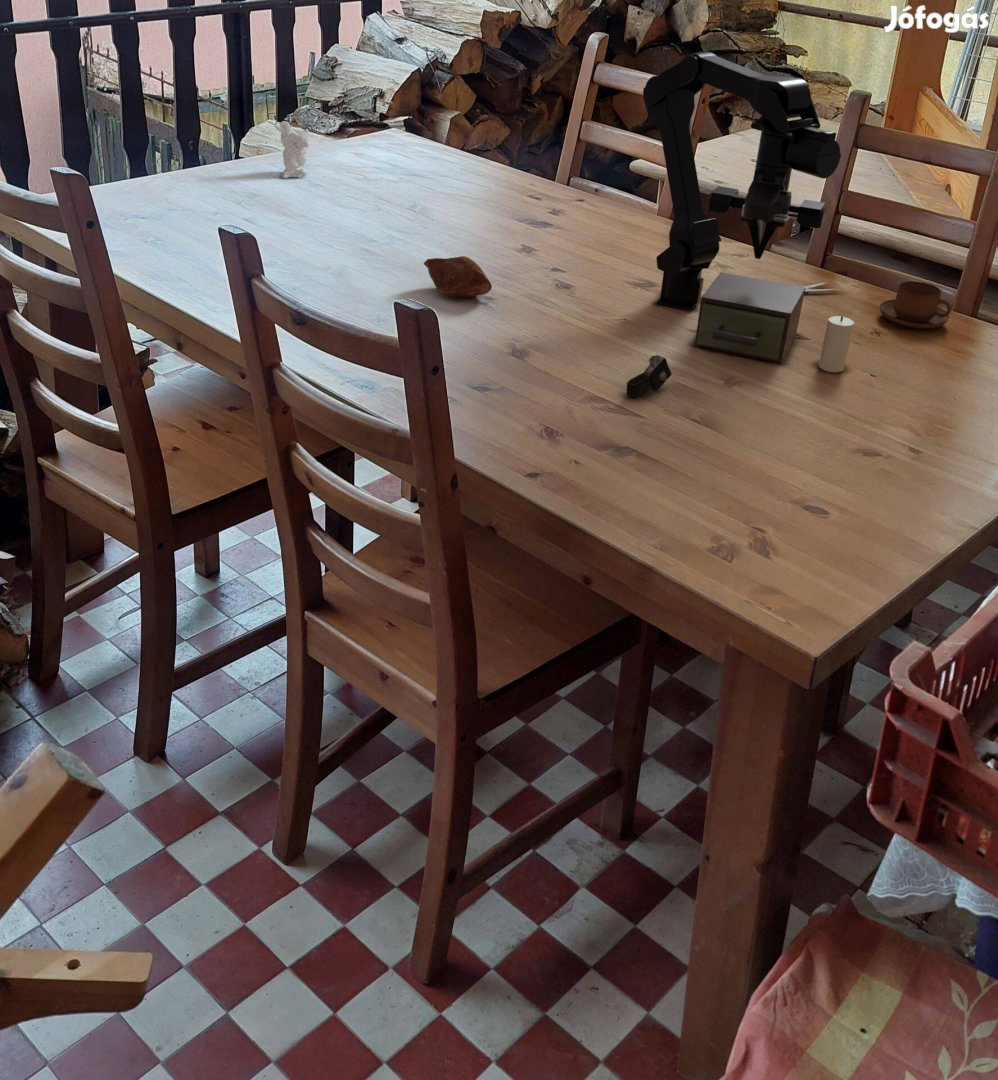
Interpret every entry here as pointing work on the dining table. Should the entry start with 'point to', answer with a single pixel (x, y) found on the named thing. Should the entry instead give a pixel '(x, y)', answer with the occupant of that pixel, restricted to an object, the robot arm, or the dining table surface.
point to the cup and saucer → (916, 306)
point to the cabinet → (757, 304)
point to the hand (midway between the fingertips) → (757, 258)
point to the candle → (836, 344)
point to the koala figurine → (293, 149)
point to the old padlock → (649, 377)
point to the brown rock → (458, 276)
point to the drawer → (741, 330)
